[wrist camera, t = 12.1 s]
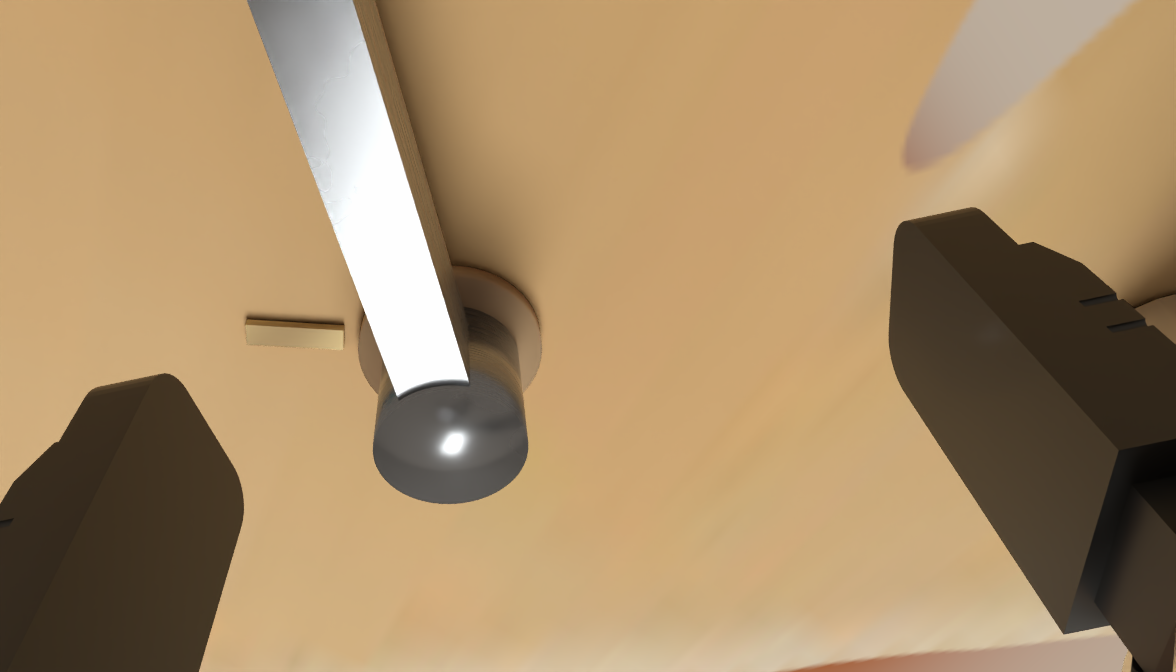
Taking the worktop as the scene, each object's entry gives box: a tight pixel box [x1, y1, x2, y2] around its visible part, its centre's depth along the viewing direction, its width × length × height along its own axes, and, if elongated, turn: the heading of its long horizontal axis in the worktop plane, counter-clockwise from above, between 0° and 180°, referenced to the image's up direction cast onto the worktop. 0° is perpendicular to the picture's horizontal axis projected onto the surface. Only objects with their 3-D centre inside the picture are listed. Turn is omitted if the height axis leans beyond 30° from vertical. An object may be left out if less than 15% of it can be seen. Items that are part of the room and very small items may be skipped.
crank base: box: [245, 266, 542, 395], centre depth 27 cm, size 10×6×1 cm, turn 80°
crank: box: [247, 0, 528, 504], centre depth 21 cm, size 18×5×4 cm, turn 8°
